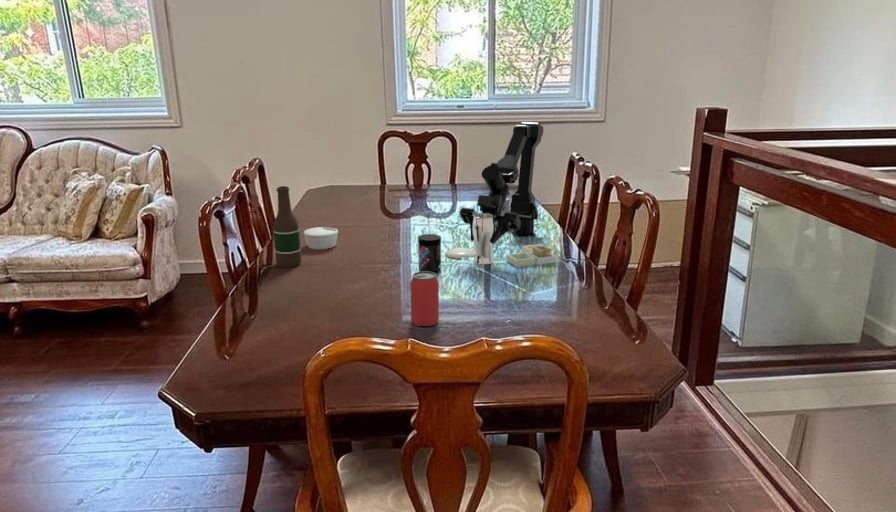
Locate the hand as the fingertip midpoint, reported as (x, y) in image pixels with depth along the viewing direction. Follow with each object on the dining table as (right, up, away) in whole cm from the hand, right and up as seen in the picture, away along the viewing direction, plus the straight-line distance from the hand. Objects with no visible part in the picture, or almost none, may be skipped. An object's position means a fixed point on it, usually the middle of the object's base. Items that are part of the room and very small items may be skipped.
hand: (482, 241), depth 186 cm
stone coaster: (-6, -4, +12) cm, 14 cm away
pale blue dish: (+19, -6, +4) cm, 20 cm away
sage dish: (+12, -7, +2) cm, 14 cm away
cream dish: (+18, -4, +11) cm, 21 cm away
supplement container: (-16, -9, -4) cm, 18 cm away
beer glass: (+1, -7, +3) cm, 7 cm away
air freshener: (+10, +8, +48) cm, 50 cm away
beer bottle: (-59, -7, +2) cm, 60 cm away
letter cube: (+19, -6, +4) cm, 20 cm away
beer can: (-16, -20, -40) cm, 47 cm away
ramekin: (-53, -1, +21) cm, 57 cm away
